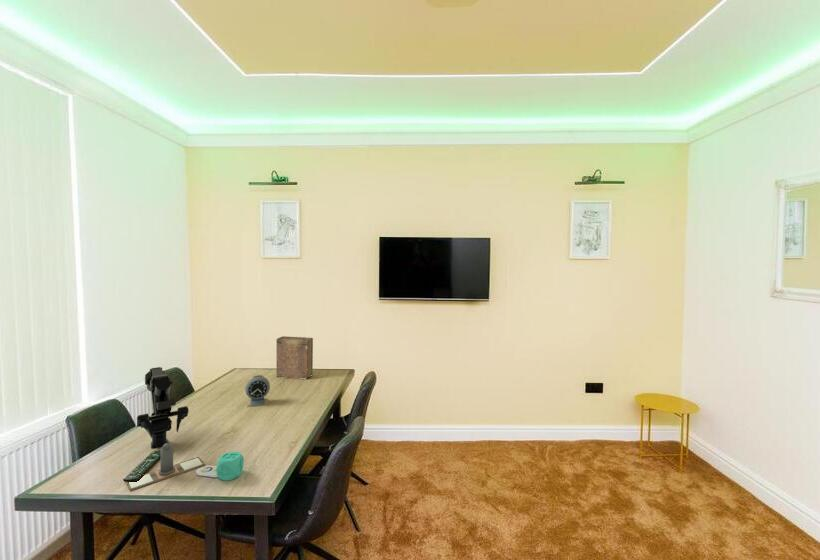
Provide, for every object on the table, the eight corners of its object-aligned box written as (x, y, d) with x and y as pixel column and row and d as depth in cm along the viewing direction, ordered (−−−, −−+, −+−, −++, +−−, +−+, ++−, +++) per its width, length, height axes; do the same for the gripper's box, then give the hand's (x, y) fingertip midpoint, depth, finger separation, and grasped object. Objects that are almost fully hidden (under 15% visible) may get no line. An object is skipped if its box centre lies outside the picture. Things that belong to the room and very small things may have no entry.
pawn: (164, 468, 157) (163, 440, 157) (177, 468, 157) (177, 440, 157) (155, 475, 151) (155, 446, 151) (169, 475, 152) (169, 446, 151)
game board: (125, 481, 148) (125, 480, 148) (198, 457, 167) (198, 456, 167) (130, 491, 142) (130, 490, 142) (205, 465, 161) (205, 464, 161)
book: (312, 376, 290) (313, 337, 289) (307, 379, 281) (308, 340, 280) (282, 374, 294) (282, 336, 293) (276, 377, 285) (276, 338, 284)
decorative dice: (236, 480, 150) (236, 461, 150) (216, 481, 150) (216, 461, 149) (243, 469, 158) (243, 451, 158) (224, 470, 158) (224, 451, 157)
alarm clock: (245, 407, 225) (245, 378, 225) (245, 402, 234) (245, 374, 233) (270, 404, 231) (270, 376, 230) (269, 399, 240) (269, 371, 239)
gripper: (136, 396, 157) (138, 432, 149) (187, 388, 169) (192, 420, 161) (136, 409, 164) (137, 443, 156) (185, 400, 176) (189, 432, 167)
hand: (164, 434), depth 160 cm, fingers open, 9 cm apart
